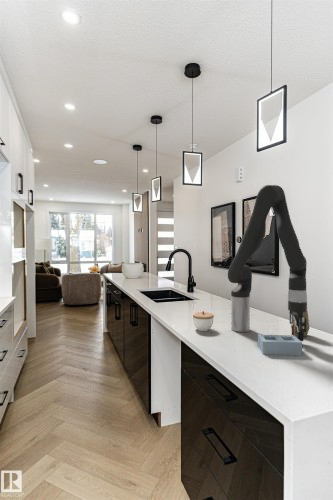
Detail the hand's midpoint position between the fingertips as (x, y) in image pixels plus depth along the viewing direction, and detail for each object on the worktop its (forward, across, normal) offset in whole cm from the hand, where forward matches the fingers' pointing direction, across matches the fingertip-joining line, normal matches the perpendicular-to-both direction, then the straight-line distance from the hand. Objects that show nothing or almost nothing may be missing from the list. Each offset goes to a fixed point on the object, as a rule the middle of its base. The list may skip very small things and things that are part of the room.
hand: (297, 337), depth 125 cm
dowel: (+3, 0, 0) cm, 3 cm away
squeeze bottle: (+3, -14, +6) cm, 16 cm away
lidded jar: (+3, -20, -40) cm, 45 cm away
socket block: (+3, +8, -10) cm, 13 cm away
